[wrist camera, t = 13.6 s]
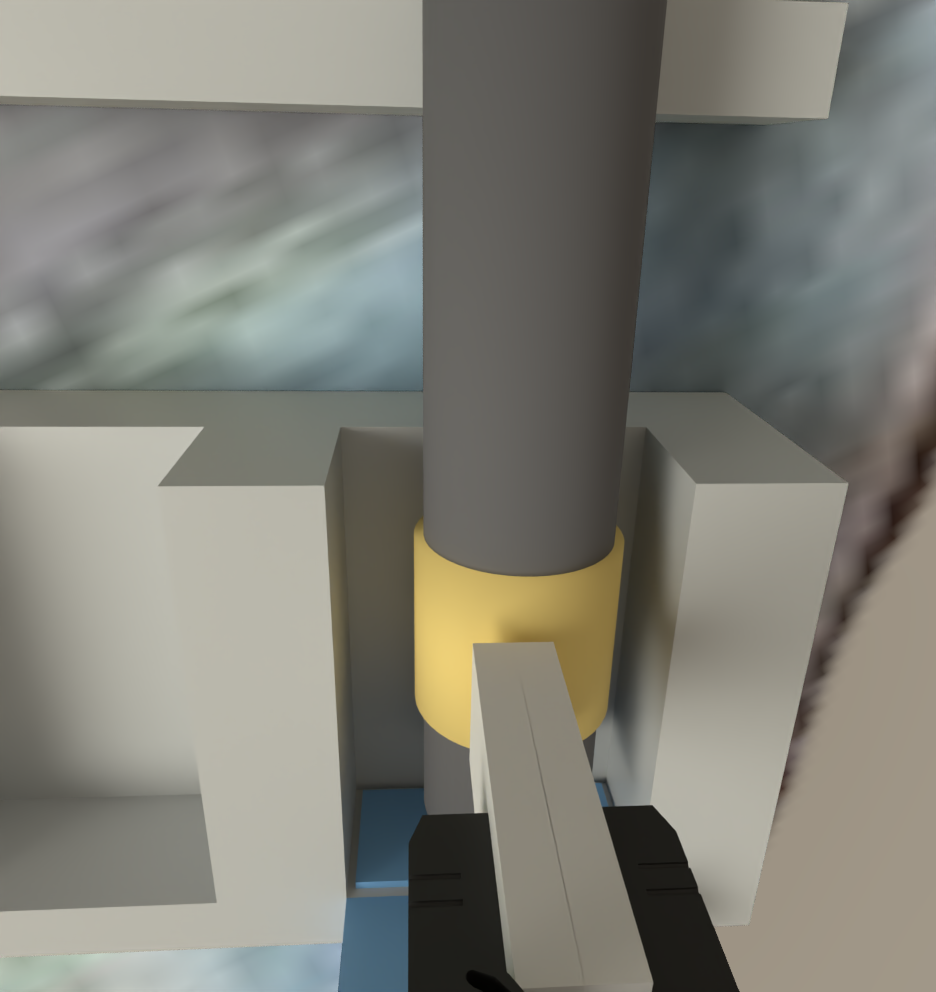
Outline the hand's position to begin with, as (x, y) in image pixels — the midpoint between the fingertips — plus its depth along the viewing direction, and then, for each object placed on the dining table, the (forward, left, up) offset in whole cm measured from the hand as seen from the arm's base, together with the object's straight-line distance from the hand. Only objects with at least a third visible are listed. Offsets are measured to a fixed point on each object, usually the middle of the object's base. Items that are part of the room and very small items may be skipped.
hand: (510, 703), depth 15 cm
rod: (-4, 0, -5) cm, 7 cm away
